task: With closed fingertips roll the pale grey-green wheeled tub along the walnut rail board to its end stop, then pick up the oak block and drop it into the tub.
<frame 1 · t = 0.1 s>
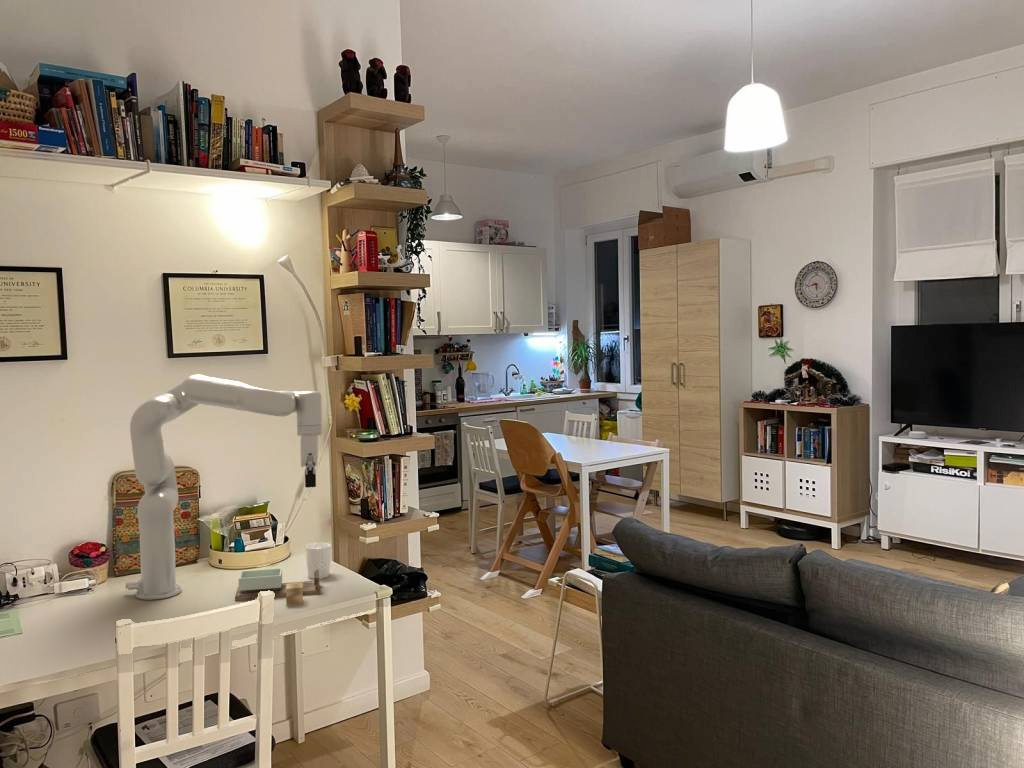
hand: (310, 484, 243), 31 cm above the table, fingers open, 9 cm apart
block: (294, 602, 225), on the table
rail: (278, 592, 234), on the table
white cup: (318, 576, 251), on the table
cart: (260, 581, 233), point 4 cm above the table, slide at 0.0 cm
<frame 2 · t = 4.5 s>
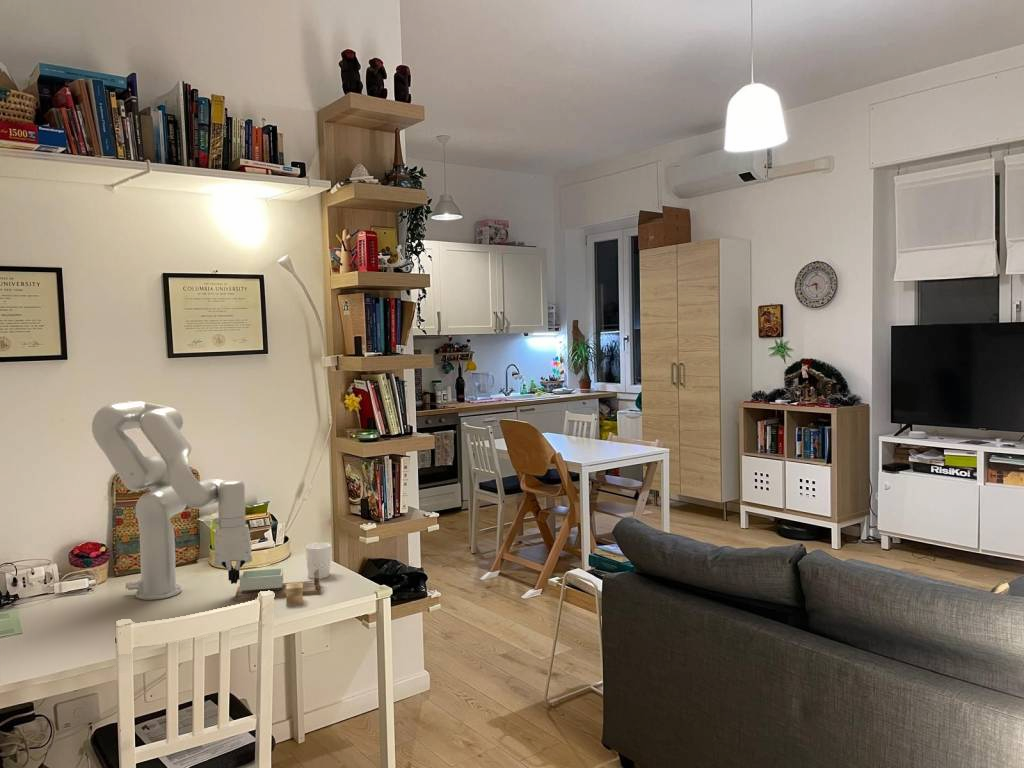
hand: (234, 582, 231), 4 cm above the table, fingers closed
cart: (262, 581, 233), point 4 cm above the table, slide at 0.3 cm, touching gripper
everything else where it was.
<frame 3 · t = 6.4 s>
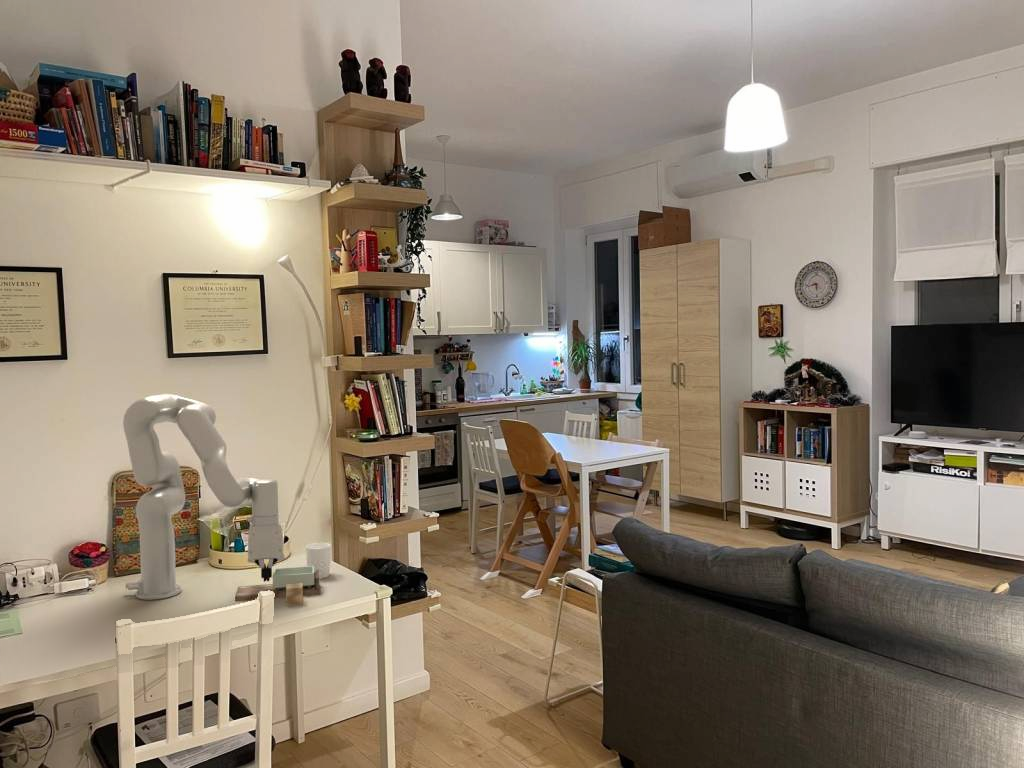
hand: (266, 580, 233), 4 cm above the table, fingers closed
cart: (293, 578, 235), point 4 cm above the table, slide at 9.6 cm, touching gripper, rail
everything else where it was.
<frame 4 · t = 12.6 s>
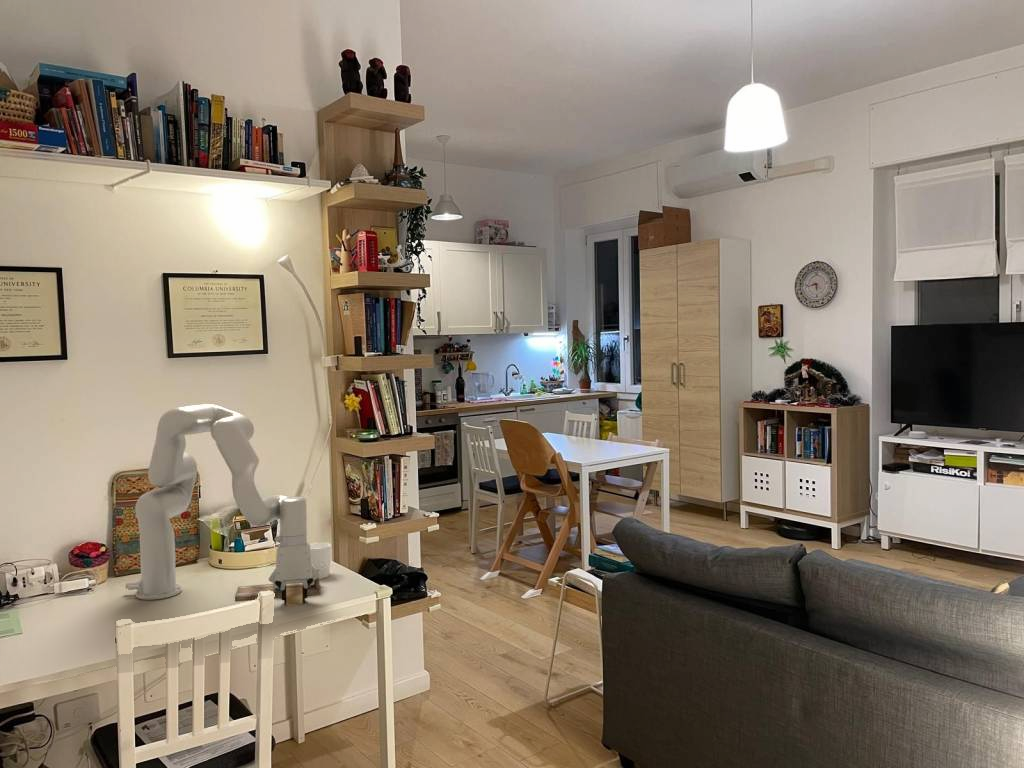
hand: (294, 601, 225), 0 cm above the table, fingers closed on block, 4 cm apart
block: (294, 602, 225), on the table, touching gripper
cart: (293, 578, 235), point 4 cm above the table, slide at 9.6 cm
everything else where it was.
when the fingers open (5 cm above the table, at t = 17.4 s): block drops 2 cm, resting on cart.
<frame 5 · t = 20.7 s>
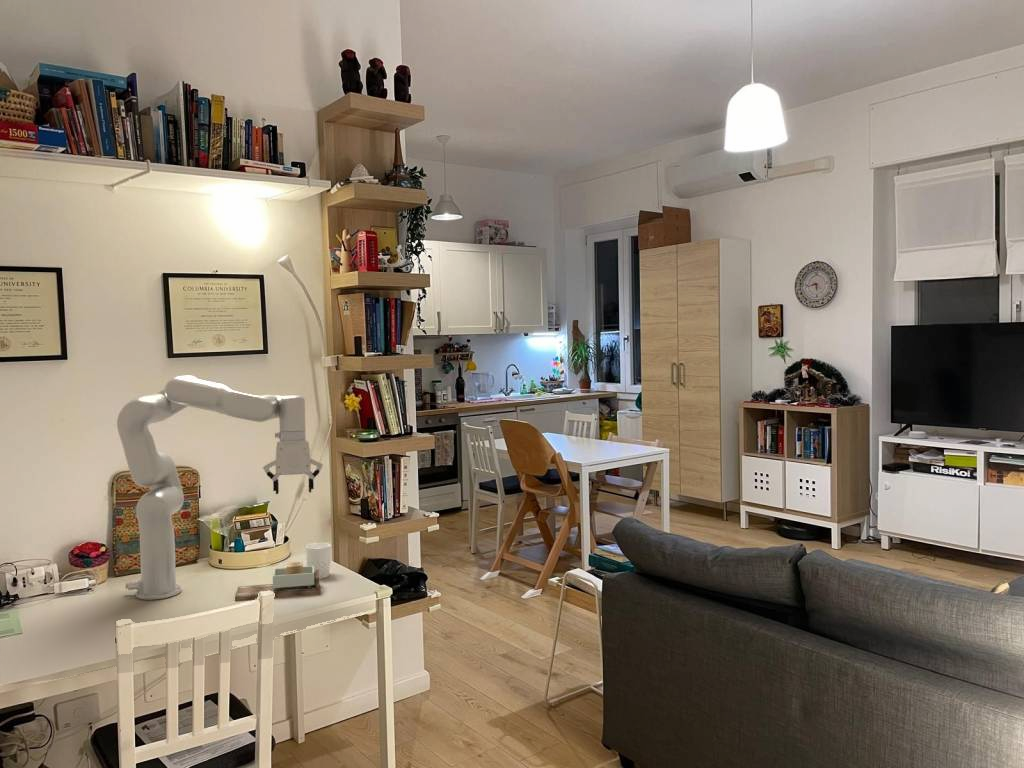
hand: (293, 492, 234), 30 cm above the table, fingers open, 9 cm apart
block: (295, 580, 236), point 3 cm above the table, touching cart
cart: (293, 578, 235), point 4 cm above the table, slide at 9.6 cm, touching block
everything else where it was.
at the end: cart slide at 9.6 cm; block inside the target area (0.4 cm from its centre), point 3.2 cm above the table; the gripper is holding nothing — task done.
